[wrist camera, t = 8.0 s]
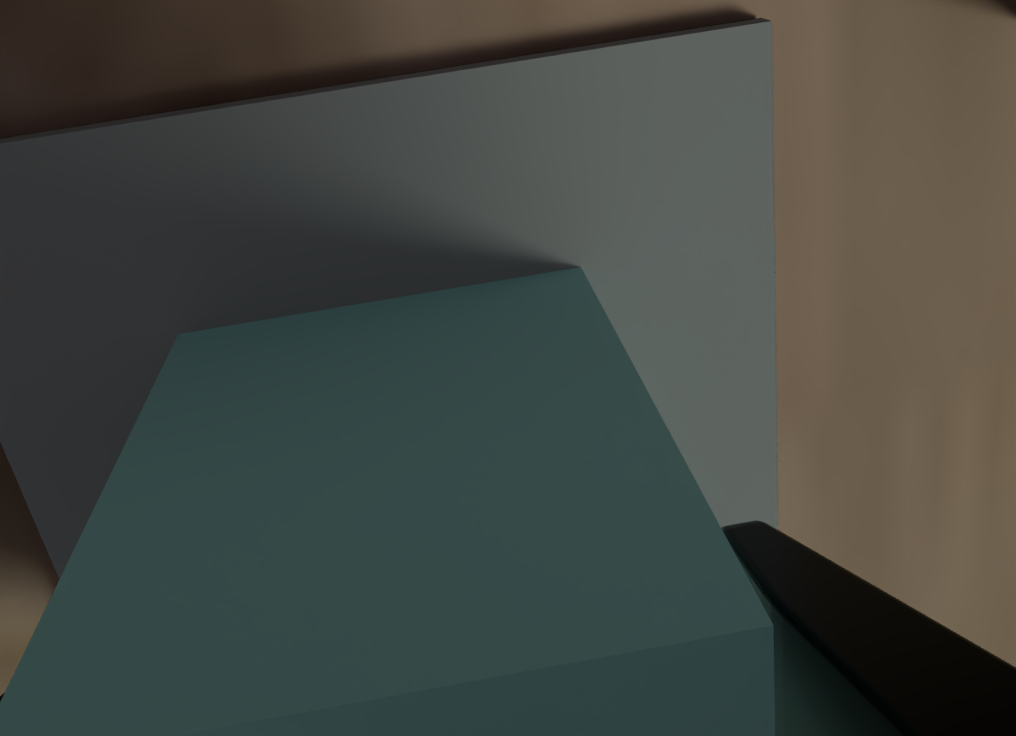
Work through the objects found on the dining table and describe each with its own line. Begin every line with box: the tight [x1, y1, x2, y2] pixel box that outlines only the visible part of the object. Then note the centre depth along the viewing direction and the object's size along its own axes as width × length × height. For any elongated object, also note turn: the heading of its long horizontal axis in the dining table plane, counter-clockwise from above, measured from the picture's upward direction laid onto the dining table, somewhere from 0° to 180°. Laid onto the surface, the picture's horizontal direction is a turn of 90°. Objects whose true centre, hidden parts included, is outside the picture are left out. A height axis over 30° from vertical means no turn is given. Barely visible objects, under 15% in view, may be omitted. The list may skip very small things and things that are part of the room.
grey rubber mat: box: [0, 18, 778, 580], centre depth 12 cm, size 9×9×1 cm
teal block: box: [0, 267, 775, 736], centre depth 9 cm, size 4×4×6 cm
